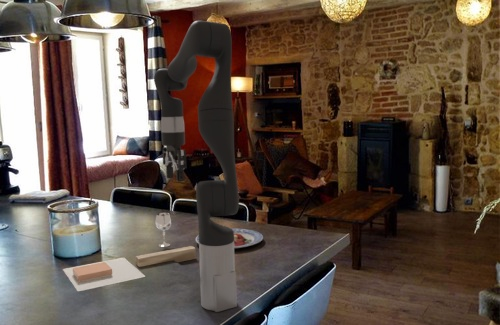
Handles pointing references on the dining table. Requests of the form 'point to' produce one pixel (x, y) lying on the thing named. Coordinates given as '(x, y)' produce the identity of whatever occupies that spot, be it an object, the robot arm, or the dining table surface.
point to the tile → (92, 271)
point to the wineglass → (163, 225)
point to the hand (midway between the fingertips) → (175, 179)
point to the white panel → (120, 273)
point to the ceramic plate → (243, 237)
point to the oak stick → (167, 256)
